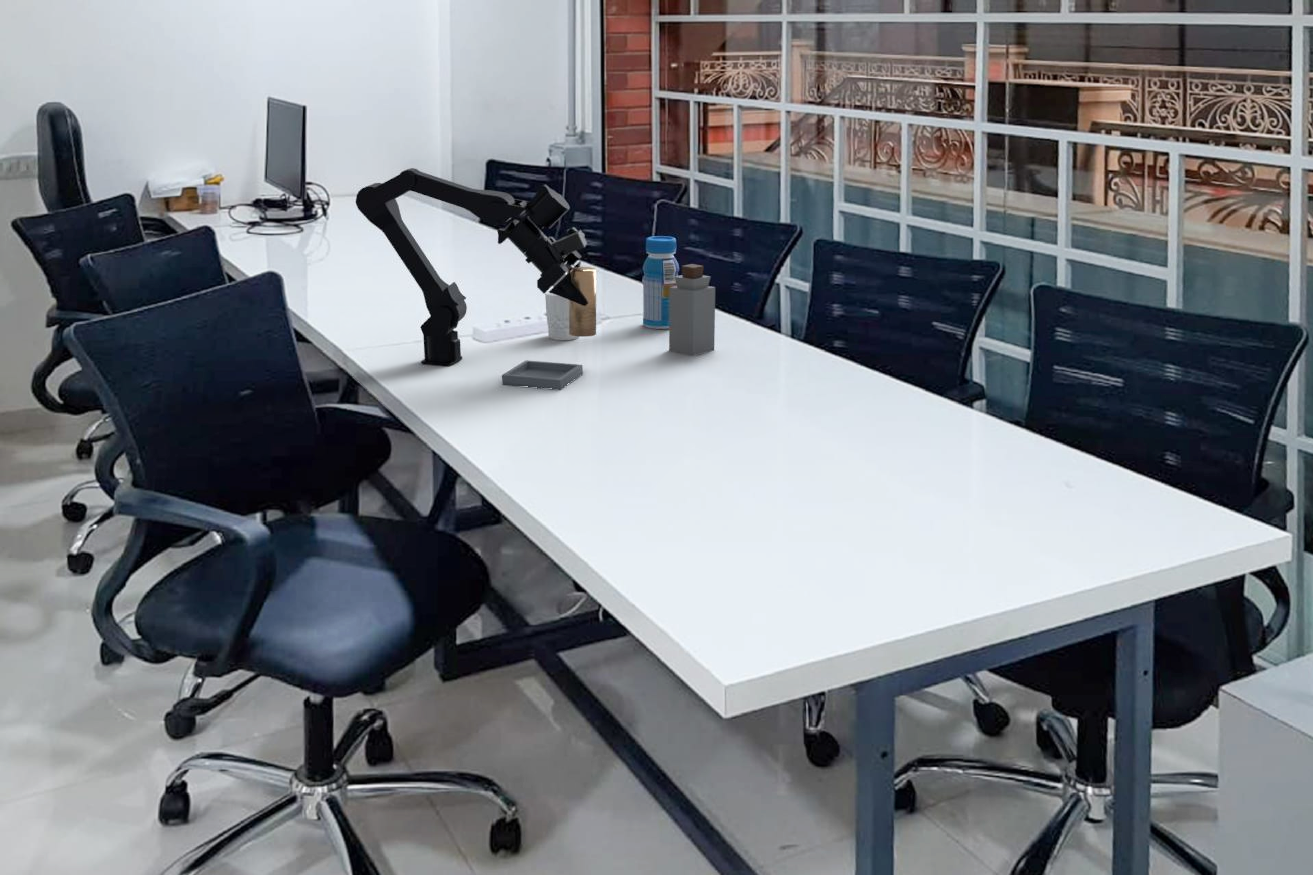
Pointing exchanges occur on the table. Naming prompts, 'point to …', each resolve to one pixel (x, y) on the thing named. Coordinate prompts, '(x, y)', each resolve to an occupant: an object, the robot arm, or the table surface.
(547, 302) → the white cup
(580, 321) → the can
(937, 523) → the table surface
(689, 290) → the perfume bottle
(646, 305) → the beverage bottle
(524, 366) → the tray
